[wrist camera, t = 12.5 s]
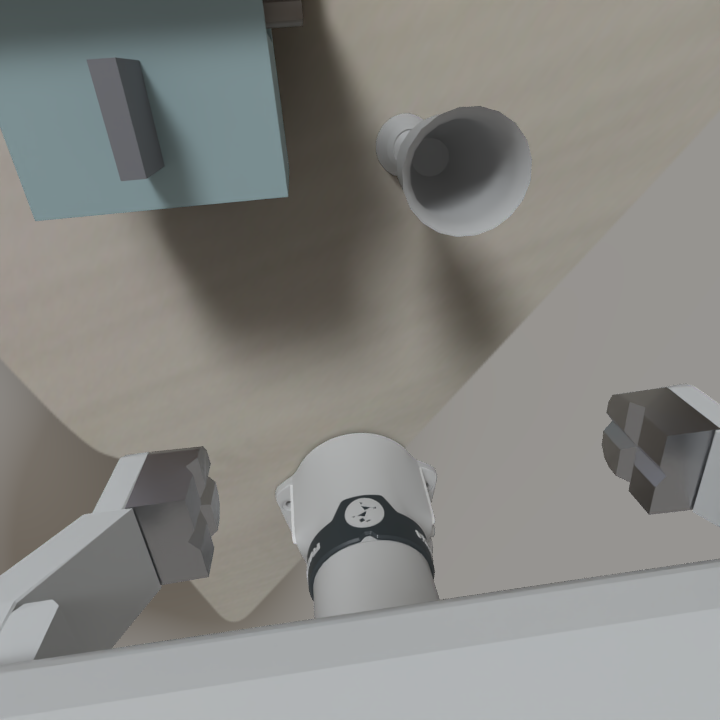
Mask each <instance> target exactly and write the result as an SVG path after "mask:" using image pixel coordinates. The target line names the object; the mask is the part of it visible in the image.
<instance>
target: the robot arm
mask: <svg viewBox="0 0 720 720" xmlns="http://www.w3.org/2000/svg"><path fill="white" fill-rule="evenodd" d="M607 414H608V415H609V417H610V418H611V419H612V422H611V423H610V424H609V425H608V427H607V428H606V429H605V430H604V431H603V439H602V448H603V453H604V458H605V460H606V462H607V464H608V466H609V468H610V469H611V470H612V471H613V473H614V474H615V475H616V476H618V477H620V478H622V479H624V480H626V481H629V482H630V485H629V492H630V493H631V494H632V495H633V496H634V498H635V499H636V500H637V501H638V502H639V503H640V505H641V506H642V507H643V508H644V509H645V510H646V512H647V513H648V514H659V513H668V512H676V511H685V510H693V512H694V513H696V514H697V515H699V516H701V517H703V518H704V519H706V520H708V521H710V522H711V523H713V524H715V525H717V526H718V527H720V404H718V403H717V402H716V401H714V400H713V399H711V398H710V397H709V396H707V395H706V394H705V393H703V392H702V391H700V390H699V389H697V388H696V387H695V386H692V385H689V384H680V385H674V386H667V387H661V388H657V389H651V390H644V391H636V392H630V393H623V394H616V395H612V397H611V399H610V400H609V402H608V408H607ZM210 465H211V463H210V460H209V457H208V453H207V450H206V449H205V448H204V447H203V446H201V447H192V448H182V449H173V450H163V451H154V452H145V453H137V454H130V455H125V456H123V457H121V458H120V459H119V461H118V463H117V465H116V467H115V469H114V471H113V473H112V475H111V477H110V479H109V481H108V483H107V485H106V487H105V489H104V491H103V493H102V495H101V497H100V499H99V501H98V503H97V505H96V507H95V509H94V511H93V513H92V514H85V515H83V516H81V517H80V518H78V519H77V520H76V521H74V522H73V523H72V524H70V525H69V526H68V527H66V528H65V529H63V530H62V531H61V532H59V533H58V534H57V535H55V536H54V537H52V538H51V539H50V540H48V541H47V542H46V543H44V544H43V545H42V546H40V547H39V548H38V549H36V550H35V551H34V552H32V553H31V554H29V555H28V556H27V557H25V558H24V559H22V560H21V561H20V562H18V563H17V564H16V565H14V566H13V567H12V568H10V569H9V570H7V571H6V572H5V573H3V574H2V575H1V576H0V720H720V559H714V560H707V561H700V562H693V563H686V564H680V565H673V566H666V567H660V568H652V569H646V570H639V571H632V572H625V573H619V574H612V575H605V576H598V577H591V578H584V579H578V580H570V581H564V582H557V583H550V584H544V585H537V586H530V587H523V588H517V589H510V590H504V591H497V592H490V593H483V594H477V595H470V596H463V597H457V598H451V599H443V600H439V596H438V593H437V590H436V587H435V584H434V573H435V572H434V565H433V558H432V557H433V556H432V553H433V546H432V540H431V537H433V536H434V535H435V528H434V525H433V524H434V523H435V517H434V513H433V509H432V505H431V502H432V497H433V493H434V489H435V484H436V481H437V474H436V470H435V468H434V467H432V466H431V465H429V464H427V463H424V462H422V461H419V460H417V459H415V458H414V457H413V456H412V455H411V454H410V453H409V452H408V451H407V450H406V449H405V448H404V447H403V446H401V445H400V444H399V443H397V442H395V441H394V440H392V439H389V438H387V437H384V436H381V435H377V434H371V433H353V434H346V435H342V436H338V437H335V438H333V439H330V440H328V441H326V442H324V443H322V444H321V445H319V446H318V447H316V448H315V449H313V450H312V451H311V452H310V453H309V454H308V455H307V456H306V457H305V459H304V460H303V461H302V463H301V464H300V466H299V467H298V469H297V471H296V472H295V473H294V475H293V476H292V477H290V478H289V479H287V480H286V481H284V482H283V483H282V484H280V485H279V486H278V487H277V489H276V491H275V495H276V501H277V503H278V505H279V507H280V509H281V511H282V514H283V516H284V518H285V520H286V522H287V524H288V526H289V528H290V530H291V532H292V540H293V543H294V544H297V546H298V549H299V551H300V553H301V555H302V556H303V558H304V560H305V562H306V564H307V579H308V585H309V592H310V595H311V597H312V600H313V601H314V616H315V617H314V619H309V620H302V621H295V622H289V623H282V624H275V625H269V626H262V627H255V628H248V629H241V630H235V631H228V632H221V633H214V634H207V635H200V636H194V637H187V638H180V639H174V640H167V641H160V642H153V643H147V644H140V645H133V646H126V647H120V648H113V649H111V648H112V647H113V646H114V645H115V644H116V642H117V641H118V640H119V639H120V637H121V636H122V635H123V634H124V633H125V631H126V630H127V629H128V628H129V626H130V625H131V624H132V623H133V621H134V620H135V619H136V618H137V617H138V616H139V614H140V613H141V612H142V610H143V609H144V608H145V607H146V606H147V605H148V603H149V602H150V601H151V600H152V598H153V597H154V596H155V595H156V594H157V592H158V591H159V590H160V589H161V585H164V584H170V583H176V582H182V581H188V580H194V579H200V578H205V577H209V572H210V567H211V562H212V557H213V552H214V546H213V542H212V539H211V536H212V535H213V534H214V533H215V532H216V531H217V530H218V525H219V519H220V503H219V495H218V490H217V486H216V482H215V481H214V480H212V479H211V478H210V477H208V473H209V469H210ZM287 501H291V502H287Z"/></svg>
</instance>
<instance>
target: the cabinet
mask: <svg viewBox="0 0 720 720" xmlns="http://www.w3.org/2000/svg"><path fill="white" fill-rule="evenodd" d="M0 128H1V130H2V133H3V136H4V139H5V141H6V144H7V147H8V149H9V152H10V155H11V157H12V160H13V163H14V165H15V168H16V171H17V173H18V176H19V179H20V181H21V184H22V187H23V189H24V192H25V195H26V197H27V200H28V203H29V205H30V208H31V211H32V213H33V216H34V219H35V221H41V220H51V219H62V218H72V217H83V216H93V215H104V214H114V213H124V212H135V211H145V210H156V209H166V208H177V207H187V206H197V205H208V204H218V203H229V202H239V201H249V200H260V199H270V198H281V197H288V188H289V163H288V155H287V147H286V140H285V132H284V124H283V117H282V109H281V101H280V93H279V86H278V78H277V70H276V63H275V55H274V47H273V40H272V32H271V28H269V29H266V23H265V15H264V8H263V0H0Z"/></svg>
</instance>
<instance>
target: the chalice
mask: <svg viewBox="0 0 720 720" xmlns="http://www.w3.org/2000/svg"><path fill="white" fill-rule="evenodd" d="M376 154H377V156H378V159H379V162H380V163H381V165H382V166H383V167H384V169H385V170H387V171H388V172H390V173H391V174H393V175H396V176H397V177H398V179H399V182H400V184H401V187H402V190H403V191H404V194H405V196H406V199H407V201H408V204H409V206H410V209H411V210H412V211H413V212H414V214H415V215H416V216H417V217H418V218H419V219H420V221H421V222H422V223H423V224H425V225H426V226H428V227H430V228H432V229H433V230H435V231H437V232H438V233H442V234H447V235H451V236H456V237H459V236H472V235H478V234H480V233H483V232H485V231H488V230H491V229H493V228H495V227H496V226H498V225H499V224H500V223H502V222H503V221H504V220H506V219H507V218H509V217H510V216H511V215H512V213H513V212H514V211H515V209H516V208H517V207H518V206H519V204H520V203H521V202H522V200H523V198H524V196H525V193H526V191H527V188H528V186H529V183H530V180H531V167H532V157H531V154H530V150H529V146H528V142H527V139H526V138H525V136H524V135H523V133H522V132H521V130H520V129H519V127H518V126H517V125H516V123H515V122H513V121H512V120H510V119H509V118H508V117H506V116H505V115H503V114H502V113H501V112H499V111H495V110H492V109H488V108H485V107H481V106H474V107H459V108H456V109H453V110H451V111H448V112H446V113H443V114H438V115H435V116H432V117H430V118H427V119H425V120H423V119H422V118H420V117H419V116H417V115H413V114H410V113H407V114H399V115H397V116H394V117H392V118H390V119H389V120H388V121H387V122H386V123H385V124H384V125H383V126H382V128H381V130H380V131H379V133H378V137H377V141H376Z"/></svg>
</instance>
